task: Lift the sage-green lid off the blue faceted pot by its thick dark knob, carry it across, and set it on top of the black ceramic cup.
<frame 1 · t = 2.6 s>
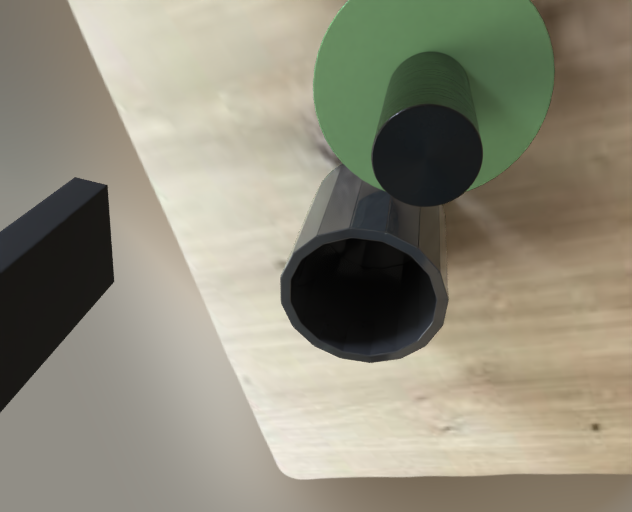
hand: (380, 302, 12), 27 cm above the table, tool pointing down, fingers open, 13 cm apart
lid: (427, 90, 26), point 9 cm above the table, touching blue faceted pot
cup: (376, 216, 41), on the table
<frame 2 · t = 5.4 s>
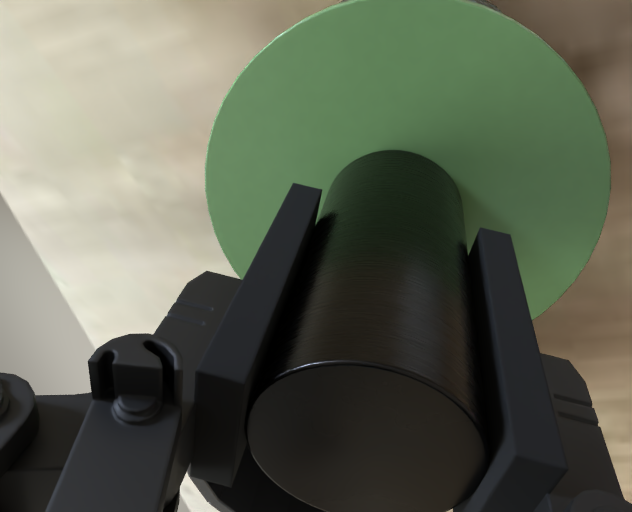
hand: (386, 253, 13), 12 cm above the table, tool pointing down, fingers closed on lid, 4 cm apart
lid: (393, 204, 16), point 10 cm above the table, touching blue faceted pot, gripper
cup: (339, 318, 31), on the table
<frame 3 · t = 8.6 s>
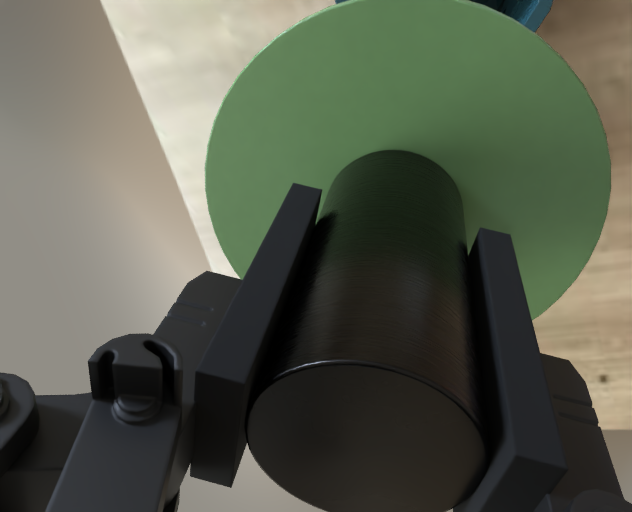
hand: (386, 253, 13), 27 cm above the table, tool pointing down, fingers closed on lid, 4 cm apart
lid: (393, 204, 16), point 24 cm above the table, touching gripper
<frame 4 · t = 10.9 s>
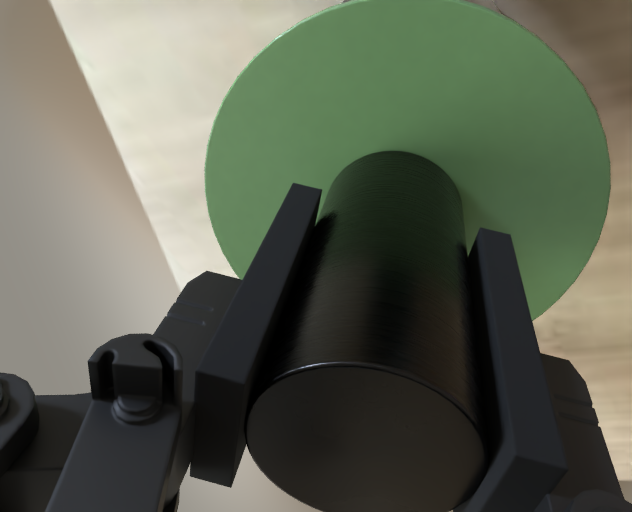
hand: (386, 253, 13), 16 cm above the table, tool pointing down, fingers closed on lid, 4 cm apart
lid: (393, 204, 16), point 14 cm above the table, touching gripper
when the fingers open (14 cm above the table, at t = 12.0 s): lid stays where it is, resting on cup.
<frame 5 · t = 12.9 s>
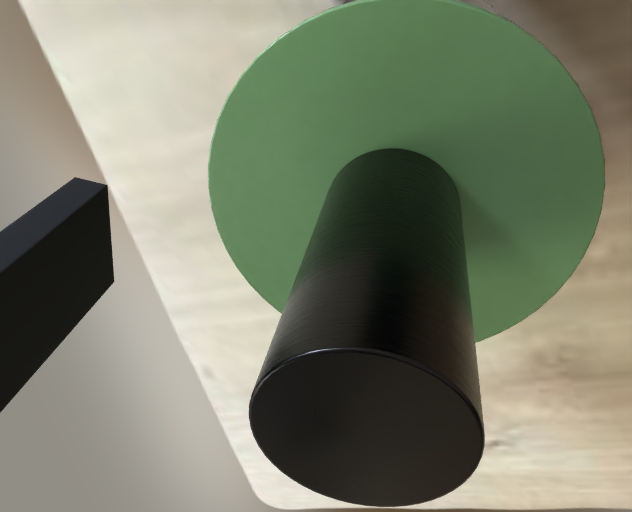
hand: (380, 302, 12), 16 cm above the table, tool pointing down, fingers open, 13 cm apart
lid: (393, 201, 16), point 11 cm above the table, touching cup
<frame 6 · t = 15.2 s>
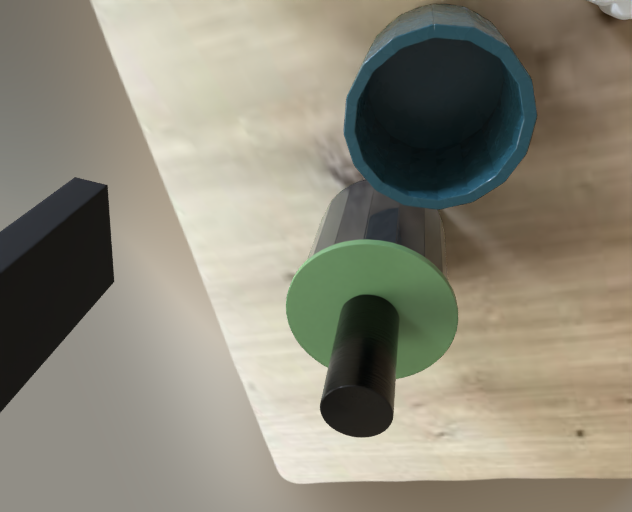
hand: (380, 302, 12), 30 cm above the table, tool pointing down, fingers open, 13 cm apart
lid: (370, 312, 36), point 11 cm above the table, touching cup
blue faceted pot: (433, 84, 38), on the table
cup: (381, 233, 45), on the table
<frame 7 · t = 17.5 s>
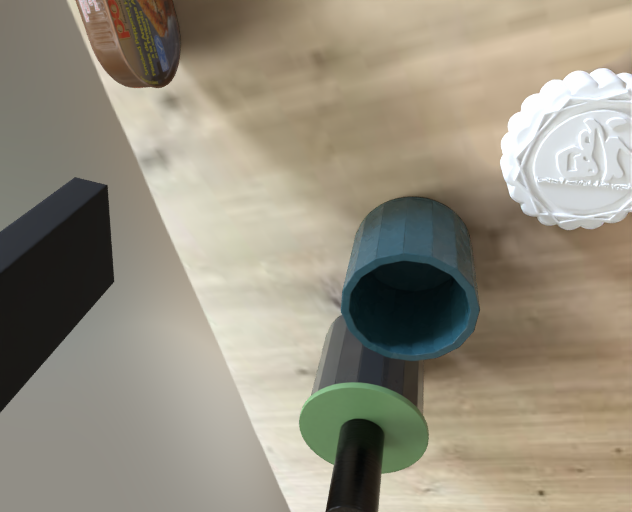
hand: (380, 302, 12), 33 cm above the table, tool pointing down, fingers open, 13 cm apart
lid: (363, 428, 47), point 11 cm above the table, touching cup
blue faceted pot: (411, 247, 49), on the table
cup: (374, 345, 56), on the table
mooncake: (579, 145, 41), on the table
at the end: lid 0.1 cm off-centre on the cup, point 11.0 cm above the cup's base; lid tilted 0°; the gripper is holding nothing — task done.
